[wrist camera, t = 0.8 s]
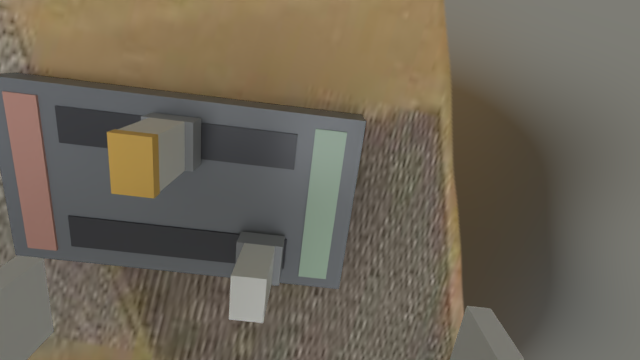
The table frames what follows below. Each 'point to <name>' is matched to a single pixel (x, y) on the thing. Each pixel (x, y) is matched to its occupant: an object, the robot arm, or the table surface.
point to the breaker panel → (182, 186)
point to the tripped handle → (152, 153)
